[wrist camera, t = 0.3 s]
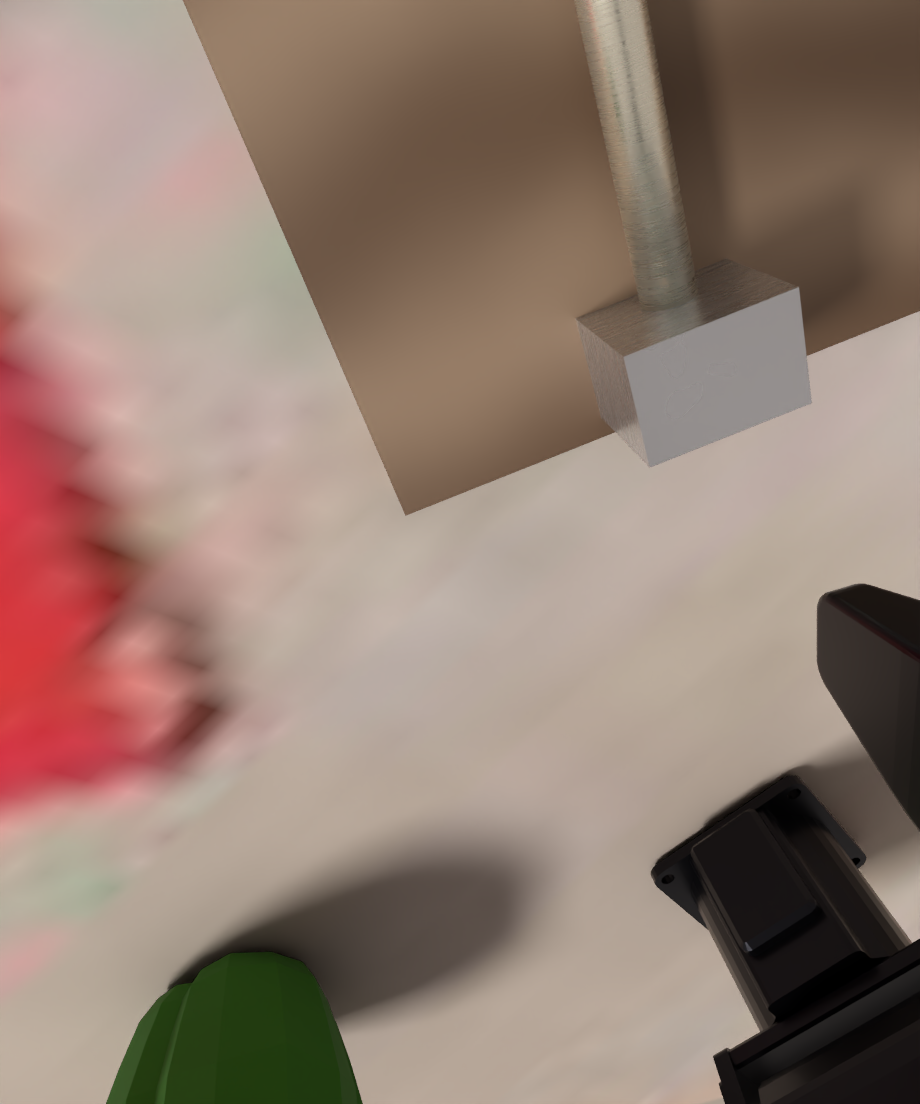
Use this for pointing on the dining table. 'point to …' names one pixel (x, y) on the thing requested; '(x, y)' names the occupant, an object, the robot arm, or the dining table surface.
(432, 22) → the cord board
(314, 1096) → the bell pepper
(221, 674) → the dining table surface
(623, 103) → the rod with end blocks
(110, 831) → the dining table surface
